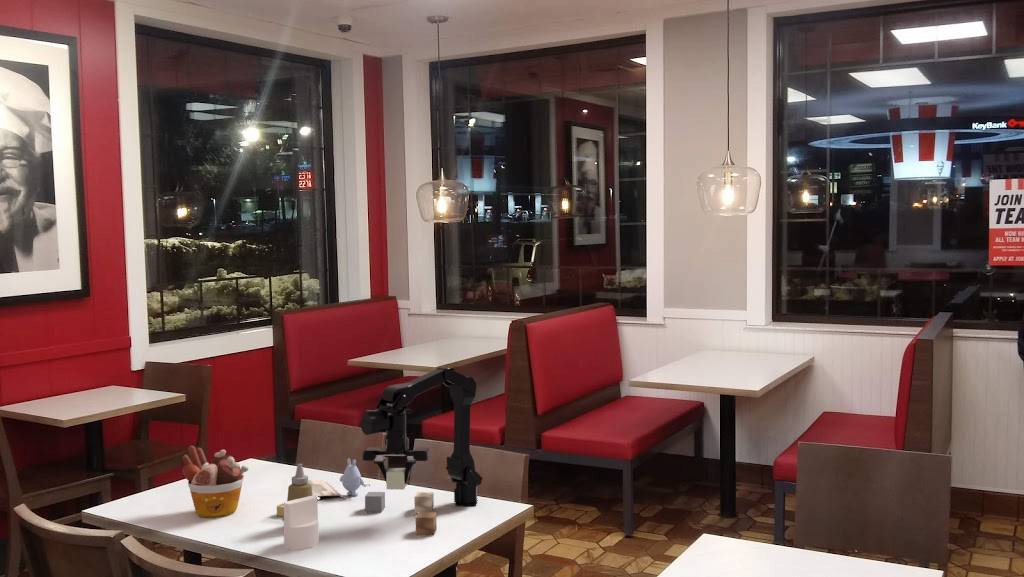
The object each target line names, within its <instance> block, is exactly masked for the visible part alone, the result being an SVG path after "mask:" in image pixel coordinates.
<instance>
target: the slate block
mask: <svg viewBox="0 0 1024 577" xmlns="http://www.w3.org/2000/svg"><path fill="white" fill-rule="evenodd" d="M384 508H385V509H386V492H385V491H368V492H367V494H365V496H364V511H365V512H371V514H373V513H374V514H375V512H380V514H381V512H383V511H384V510H385V509H384ZM365 512H364V513H365ZM372 512H373V513H372Z"/></svg>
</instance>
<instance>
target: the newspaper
mask: <svg viewBox="0 0 1024 577" xmlns="http://www.w3.org/2000/svg"><path fill="white" fill-rule="evenodd" d="M326 481H327V480H324V479H310V480H309V479H308V483H310V484H311V486H312V494H313V496H315V497H316V496H319V497H340V498H341V496H342V497H343V496H344V495H342V494H341V493H340V492H338V490H337V489H336V488H335V487H333V485H332V484H330V483H329V482H328V481H327V482H328V483H329V484H328V483H327V482H326ZM334 488H335V489H336V490H335V489H334ZM317 501H319V500H318V499H317Z"/></svg>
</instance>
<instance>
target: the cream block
mask: <svg viewBox="0 0 1024 577" xmlns="http://www.w3.org/2000/svg"><path fill="white" fill-rule="evenodd" d="M434 495H435V494H434V492H433V491H430V492H429V491H427V492H426V491H423V492H422V491H421V492H420V491H419V492H416V493H415V495H414V503H413V504H414V513H415V512H433V511H432V509H433V507H434V508H435V506H434V505H435V503H434V502H435V501H434V500H435V498H434ZM433 510H434V509H433Z"/></svg>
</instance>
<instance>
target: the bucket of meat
mask: <svg viewBox="0 0 1024 577" xmlns="http://www.w3.org/2000/svg"><path fill="white" fill-rule="evenodd" d="M187 451H188V452H189V453H188V454H189V455H188V454H184V455H182V459H181V460H182V462H183V463H184V466H183V468H182V469H181V470H182V471H181V472H182V474H183V476H184V477H185V479H186V480H187V482H188V483H187V484H188V487H189V492H190V496H191V498H192V503H193V507H194V510H195V514H196V515H197V516H198V517H201V518H206V519H209V518H210V519H217V518H223V517H227V516H230V515H232V514H234V513H235V512H236V511H237V509H238V508H239V502H240V498H241V490H242V486H243V482H244V479H245V478H244V477H245V475H243V474H244V473H246V472H248V471H249V467H248V466H246V465H245V464H244V465H242V466H241V467H240V465H241V464H240V463H239V462H237V461H235V458H234V457H233V455H226V453H227V451H226V450H225V449H221V450H220V451H219V452H218V451H217V452H215V453H214V456H213V457H215V458H213V459H211V461H210V462H208V461H207V458H206V455H205V453H204V450H203V448H202V447H197V448H196V447H195V446H194V445H189V446H188V450H187Z"/></svg>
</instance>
